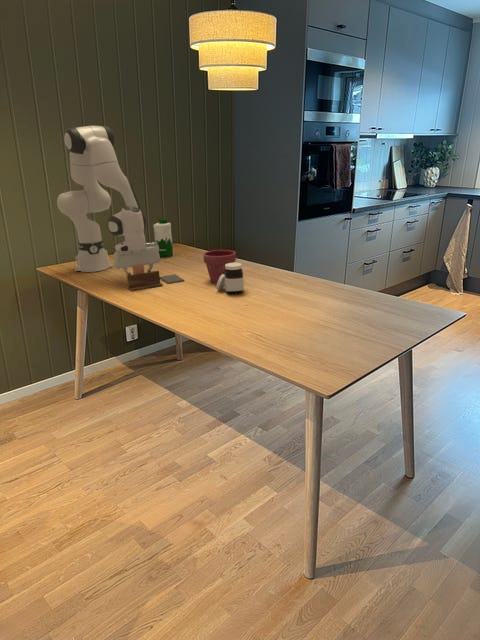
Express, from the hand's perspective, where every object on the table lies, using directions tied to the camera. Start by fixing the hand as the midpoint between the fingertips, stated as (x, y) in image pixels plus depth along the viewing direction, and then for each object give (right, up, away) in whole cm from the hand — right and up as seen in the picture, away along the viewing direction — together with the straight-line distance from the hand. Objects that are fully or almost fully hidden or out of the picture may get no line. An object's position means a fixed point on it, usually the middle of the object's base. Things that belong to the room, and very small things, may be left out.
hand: (139, 275), depth 212 cm
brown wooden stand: (+4, -6, -6) cm, 9 cm away
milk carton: (+3, +15, +52) cm, 54 cm away
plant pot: (+37, -3, 0) cm, 37 cm away
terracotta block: (0, -3, +1) cm, 4 cm away
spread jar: (+41, -9, -16) cm, 45 cm away
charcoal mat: (+14, -2, +5) cm, 15 cm away
